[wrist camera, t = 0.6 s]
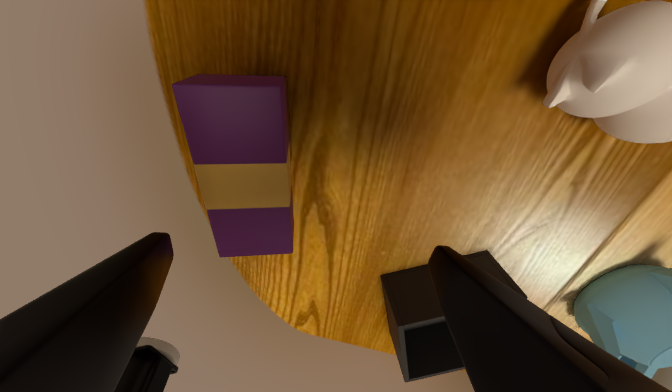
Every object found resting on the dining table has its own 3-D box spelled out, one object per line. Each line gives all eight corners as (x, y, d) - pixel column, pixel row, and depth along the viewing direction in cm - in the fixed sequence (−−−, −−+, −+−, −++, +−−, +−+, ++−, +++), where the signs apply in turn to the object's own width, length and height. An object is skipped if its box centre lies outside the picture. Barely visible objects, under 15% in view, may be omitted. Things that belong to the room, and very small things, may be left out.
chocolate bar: (294, 223, 15) (293, 254, 13) (230, 226, 15) (218, 258, 13) (285, 76, 11) (281, 86, 9) (195, 73, 11) (169, 83, 8)
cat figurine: (669, 84, 12) (825, 138, 14) (693, -134, 12) (840, -46, 14) (506, 132, 20) (619, 161, 23) (523, 3, 21) (633, 45, 23)
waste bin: (389, 332, 38) (405, 382, 33) (380, 275, 31) (397, 327, 25) (476, 312, 38) (506, 359, 32) (487, 250, 31) (528, 296, 25)
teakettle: (545, 298, 38) (621, 381, 29) (655, 237, 33) (788, 313, 24) (577, 329, 45) (647, 404, 36) (673, 282, 40) (781, 355, 31)
